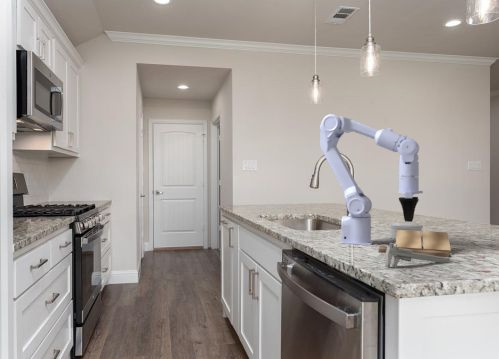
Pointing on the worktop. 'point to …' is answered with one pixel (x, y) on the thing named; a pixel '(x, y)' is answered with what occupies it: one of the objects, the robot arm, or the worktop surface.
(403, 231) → the left plank
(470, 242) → the worktop surface
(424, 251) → the floor panel
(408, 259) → the caliper
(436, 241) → the right plank
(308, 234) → the worktop surface
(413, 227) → the ramekin
